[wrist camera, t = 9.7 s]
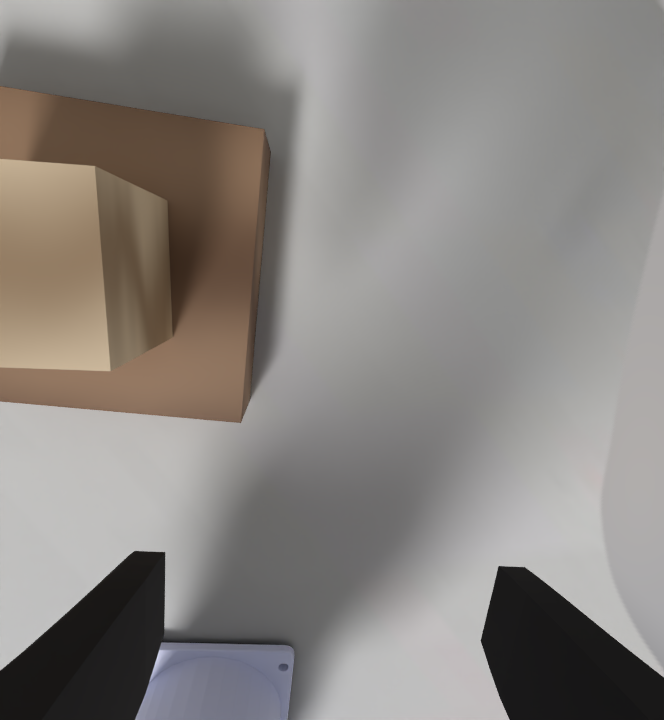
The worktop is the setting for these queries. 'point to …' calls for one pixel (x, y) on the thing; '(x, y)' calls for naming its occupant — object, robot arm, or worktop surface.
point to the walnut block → (186, 248)
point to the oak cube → (80, 268)
